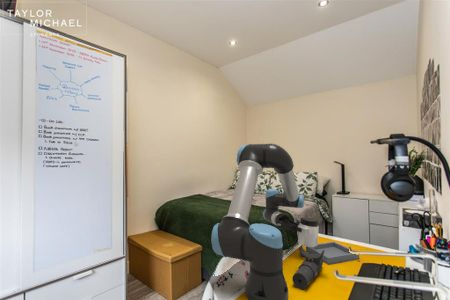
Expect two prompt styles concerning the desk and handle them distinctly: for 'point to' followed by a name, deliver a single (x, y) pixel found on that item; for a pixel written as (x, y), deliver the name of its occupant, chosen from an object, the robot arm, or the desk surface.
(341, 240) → the desk surface
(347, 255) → the tray
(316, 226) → the jar
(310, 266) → the laser sight
